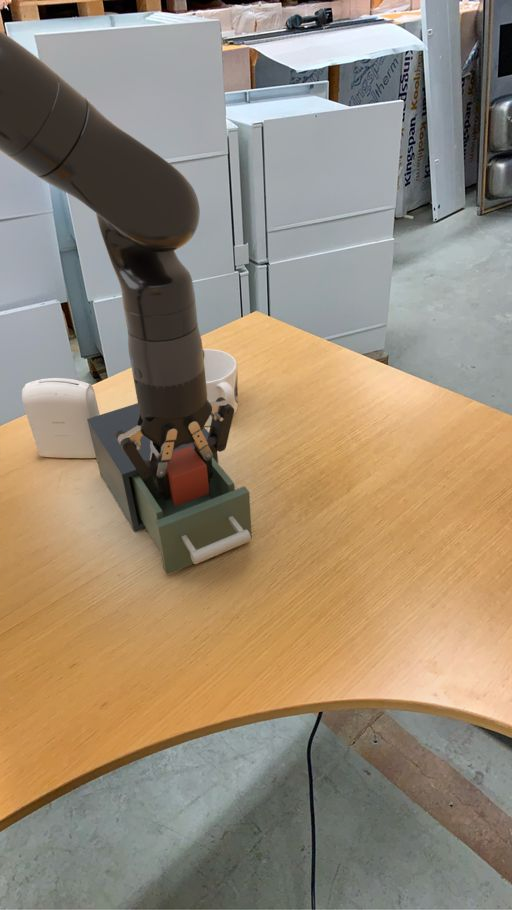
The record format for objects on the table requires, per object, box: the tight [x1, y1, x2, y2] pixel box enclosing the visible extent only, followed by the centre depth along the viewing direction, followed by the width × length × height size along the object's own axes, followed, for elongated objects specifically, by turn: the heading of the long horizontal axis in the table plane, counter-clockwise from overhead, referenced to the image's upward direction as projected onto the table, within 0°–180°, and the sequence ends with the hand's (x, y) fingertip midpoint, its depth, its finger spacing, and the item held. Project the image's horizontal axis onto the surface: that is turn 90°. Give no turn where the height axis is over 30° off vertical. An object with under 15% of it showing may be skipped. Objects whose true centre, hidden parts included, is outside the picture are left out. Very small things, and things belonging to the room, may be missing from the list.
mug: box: [203, 348, 239, 427], centre depth 102 cm, size 13×10×8 cm
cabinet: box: [87, 402, 219, 533], centre depth 88 cm, size 14×13×10 cm
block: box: [167, 446, 209, 506], centre depth 78 cm, size 4×4×4 cm
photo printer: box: [21, 377, 101, 459], centre depth 94 cm, size 10×4×12 cm, turn 85°
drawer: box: [129, 457, 253, 575], centre depth 79 cm, size 17×11×8 cm
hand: (184, 487), depth 79 cm, fingers closed on block, 4 cm apart
